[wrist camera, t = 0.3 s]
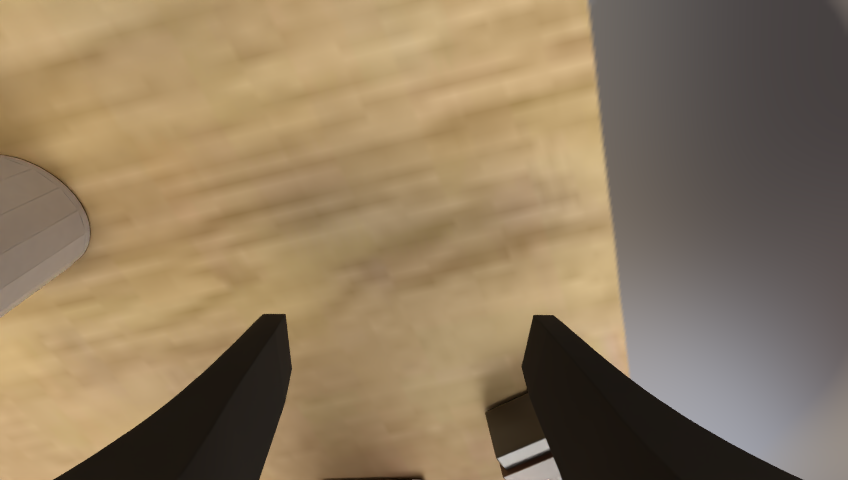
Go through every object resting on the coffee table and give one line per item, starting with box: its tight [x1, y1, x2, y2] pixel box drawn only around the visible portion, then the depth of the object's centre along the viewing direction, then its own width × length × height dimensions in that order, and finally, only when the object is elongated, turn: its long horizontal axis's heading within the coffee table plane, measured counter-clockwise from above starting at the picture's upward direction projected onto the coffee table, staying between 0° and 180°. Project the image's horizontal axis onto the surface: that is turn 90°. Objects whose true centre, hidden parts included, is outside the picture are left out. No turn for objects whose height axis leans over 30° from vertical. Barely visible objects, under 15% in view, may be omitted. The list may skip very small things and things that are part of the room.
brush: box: [485, 393, 562, 480], centre depth 28 cm, size 6×12×4 cm, turn 30°
